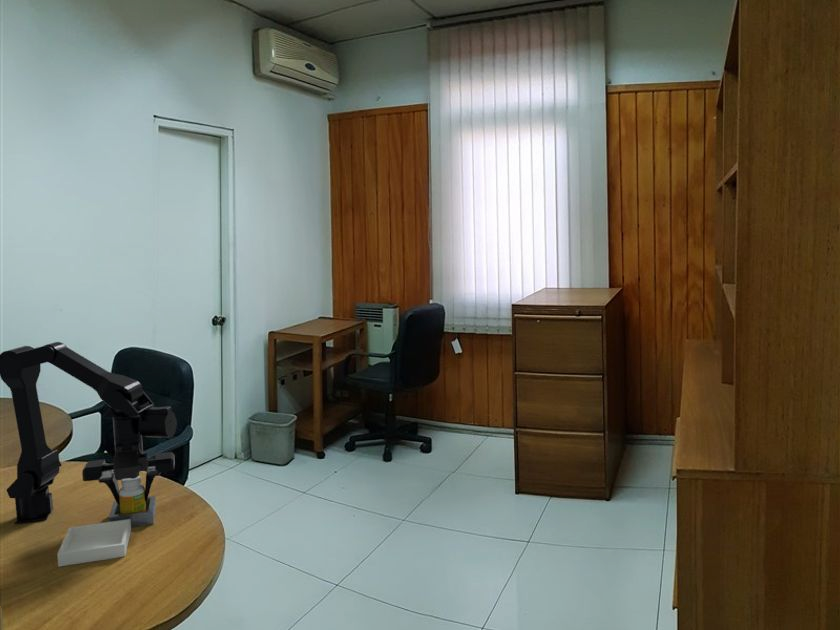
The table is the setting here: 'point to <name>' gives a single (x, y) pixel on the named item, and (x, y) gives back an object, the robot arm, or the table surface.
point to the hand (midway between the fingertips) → (132, 501)
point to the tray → (94, 542)
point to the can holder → (135, 514)
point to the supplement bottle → (132, 496)
